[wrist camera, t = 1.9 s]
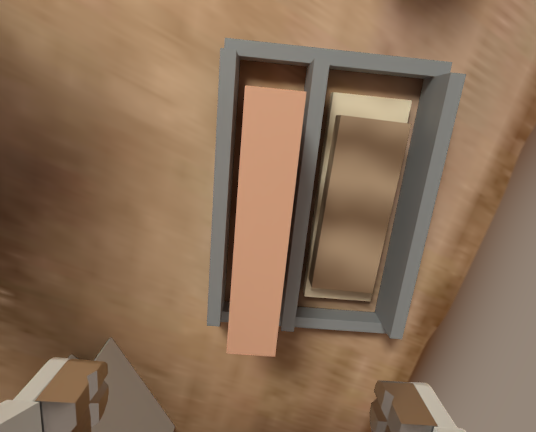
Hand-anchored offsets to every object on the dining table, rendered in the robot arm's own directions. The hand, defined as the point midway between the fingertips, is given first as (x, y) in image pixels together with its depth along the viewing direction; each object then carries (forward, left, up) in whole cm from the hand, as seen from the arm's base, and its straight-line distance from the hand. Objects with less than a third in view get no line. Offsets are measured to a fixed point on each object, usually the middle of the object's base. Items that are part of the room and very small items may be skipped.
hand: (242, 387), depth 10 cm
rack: (-1, +6, -24) cm, 24 cm away
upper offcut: (-1, +9, -23) cm, 24 cm away
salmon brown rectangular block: (-1, +1, -24) cm, 24 cm away
